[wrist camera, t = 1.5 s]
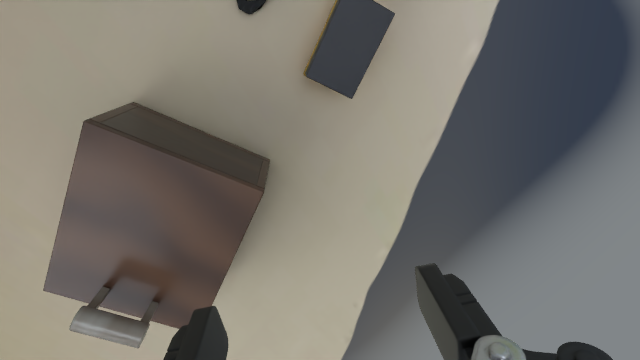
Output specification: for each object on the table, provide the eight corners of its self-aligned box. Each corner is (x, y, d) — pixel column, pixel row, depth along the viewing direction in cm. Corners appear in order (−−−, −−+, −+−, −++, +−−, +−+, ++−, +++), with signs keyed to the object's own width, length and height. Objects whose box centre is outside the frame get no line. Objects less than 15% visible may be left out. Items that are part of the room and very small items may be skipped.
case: (218, 274, 42) (202, 323, 35) (95, 234, 38) (49, 279, 31) (270, 159, 37) (264, 188, 29) (133, 101, 33) (88, 118, 26)
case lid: (200, 329, 35) (184, 376, 30) (47, 285, 31) (2, 330, 27) (264, 188, 29) (258, 218, 24) (88, 118, 26) (40, 136, 21)
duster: (343, 93, 34) (350, 101, 30) (303, 73, 33) (304, 78, 29) (381, 15, 32) (396, 11, 27) (339, -9, 31) (348, -18, 26)
